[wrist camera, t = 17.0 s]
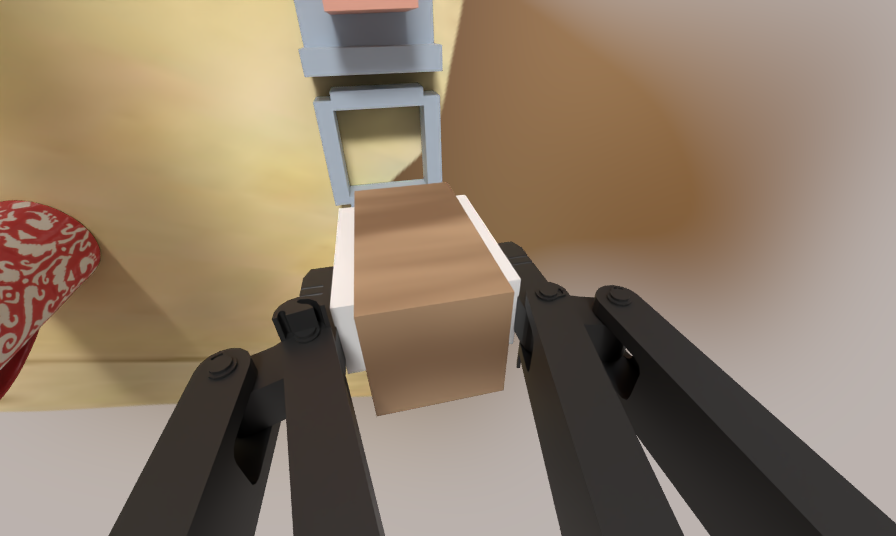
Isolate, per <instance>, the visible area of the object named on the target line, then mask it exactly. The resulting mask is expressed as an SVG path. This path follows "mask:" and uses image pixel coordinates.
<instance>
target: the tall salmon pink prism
mask: <svg viewBox="0 0 896 536" xmlns="http://www.w3.org/2000/svg"><path fill="white" fill-rule="evenodd" d="M322 2H323V7H324V11H325V12H327V13H328V14H330V15H338V14H363V13H388V12H407V11H410V10H413V9H416V8H419V5H418V0H322Z"/></svg>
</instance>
